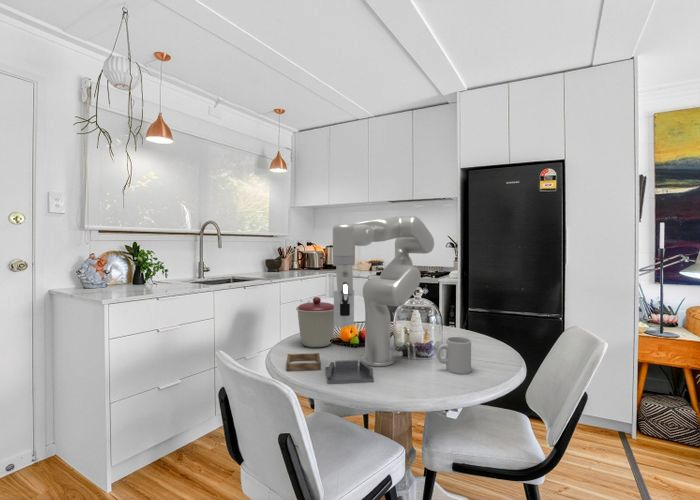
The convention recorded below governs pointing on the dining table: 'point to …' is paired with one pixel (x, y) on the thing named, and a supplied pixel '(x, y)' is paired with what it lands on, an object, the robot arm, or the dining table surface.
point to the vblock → (348, 372)
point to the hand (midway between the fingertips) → (344, 312)
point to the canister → (316, 323)
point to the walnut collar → (303, 365)
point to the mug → (456, 355)
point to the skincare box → (339, 320)
